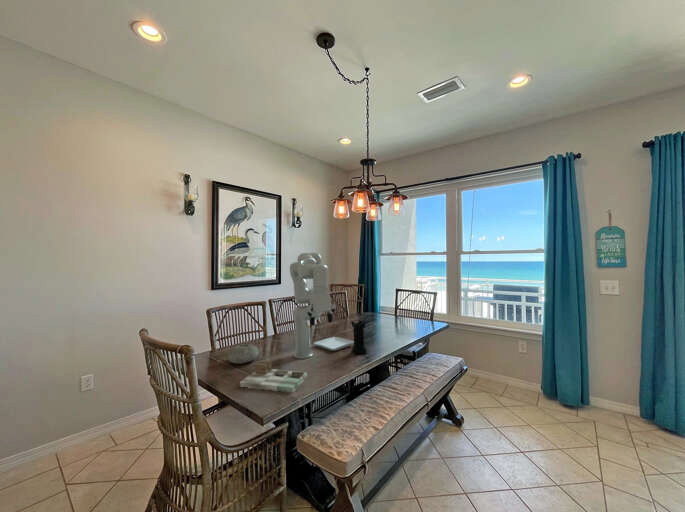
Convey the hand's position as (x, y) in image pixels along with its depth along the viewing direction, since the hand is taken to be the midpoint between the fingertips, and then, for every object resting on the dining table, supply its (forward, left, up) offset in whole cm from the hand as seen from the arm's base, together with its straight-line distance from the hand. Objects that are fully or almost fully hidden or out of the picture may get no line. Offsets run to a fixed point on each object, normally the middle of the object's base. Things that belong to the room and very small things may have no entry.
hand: (321, 323), depth 143 cm
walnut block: (+1, -33, -27) cm, 42 cm away
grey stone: (-16, -57, -30) cm, 66 cm away
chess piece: (-45, +9, -30) cm, 55 cm away
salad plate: (-55, -11, -30) cm, 64 cm away
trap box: (+6, -24, -29) cm, 38 cm away
